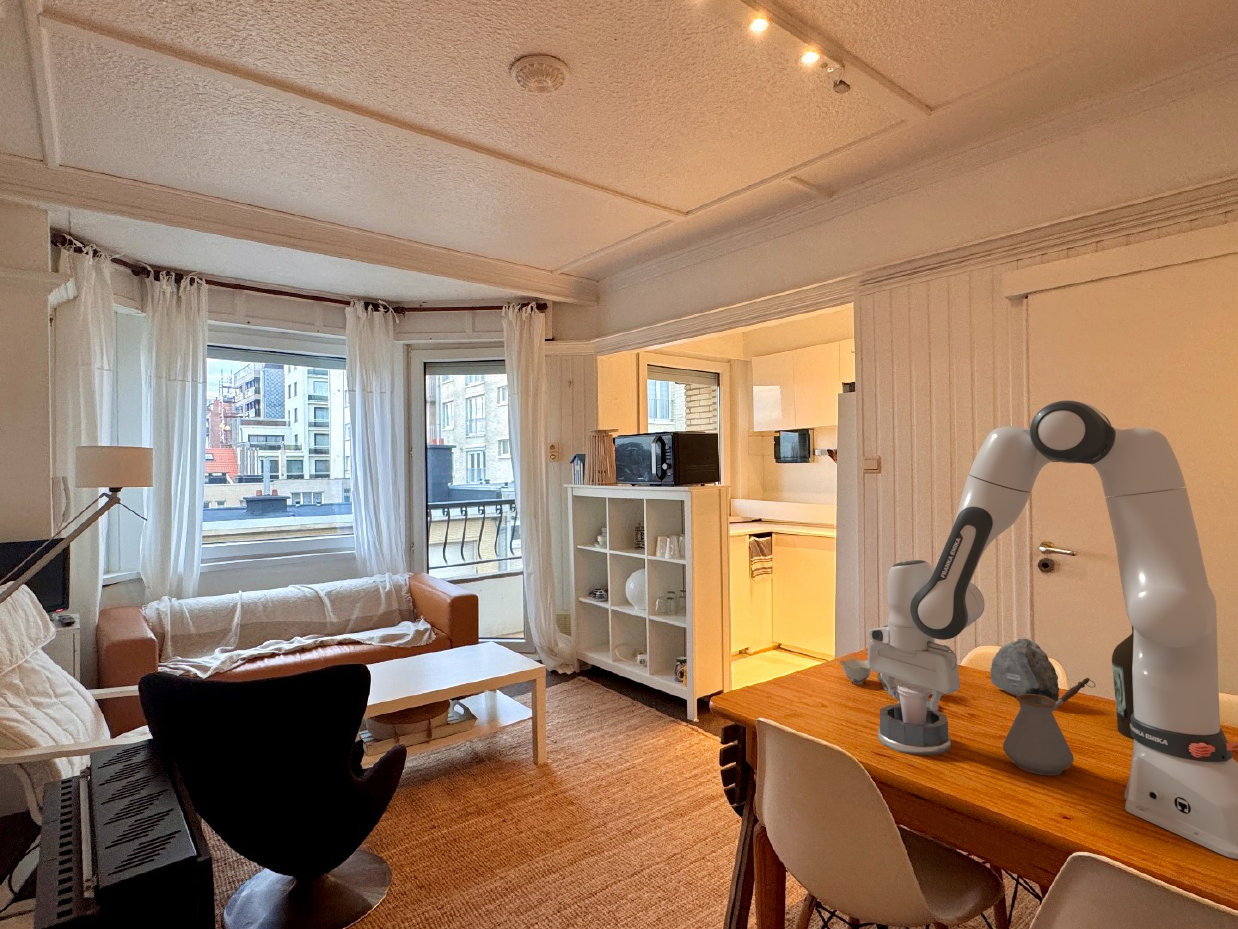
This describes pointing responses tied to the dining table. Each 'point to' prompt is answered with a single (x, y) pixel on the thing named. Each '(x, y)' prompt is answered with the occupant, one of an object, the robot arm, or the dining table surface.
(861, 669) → the chinaware
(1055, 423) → the robot arm
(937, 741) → the ring
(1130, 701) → the olive oil
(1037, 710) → the coffee pot
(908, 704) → the smoothie
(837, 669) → the dining table surface
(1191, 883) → the dining table surface
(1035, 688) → the decorative rock
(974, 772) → the dining table surface
